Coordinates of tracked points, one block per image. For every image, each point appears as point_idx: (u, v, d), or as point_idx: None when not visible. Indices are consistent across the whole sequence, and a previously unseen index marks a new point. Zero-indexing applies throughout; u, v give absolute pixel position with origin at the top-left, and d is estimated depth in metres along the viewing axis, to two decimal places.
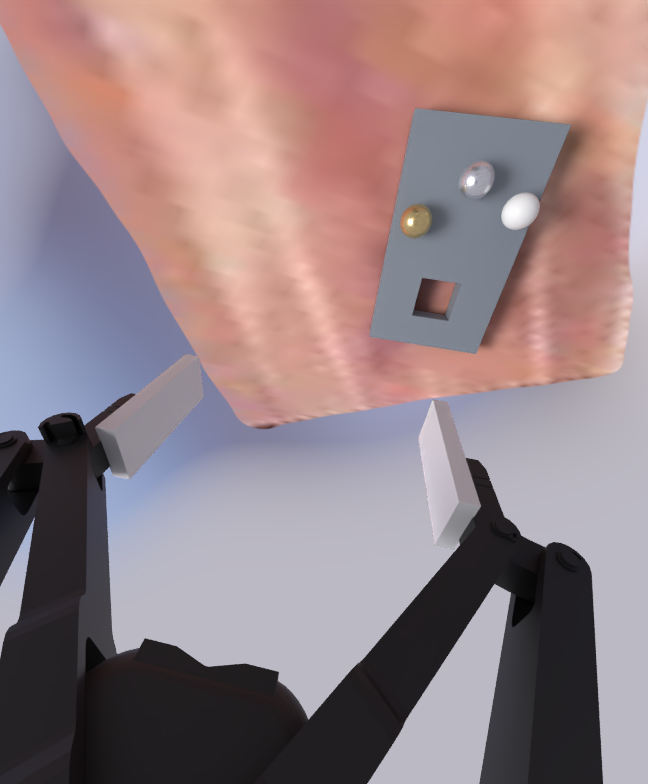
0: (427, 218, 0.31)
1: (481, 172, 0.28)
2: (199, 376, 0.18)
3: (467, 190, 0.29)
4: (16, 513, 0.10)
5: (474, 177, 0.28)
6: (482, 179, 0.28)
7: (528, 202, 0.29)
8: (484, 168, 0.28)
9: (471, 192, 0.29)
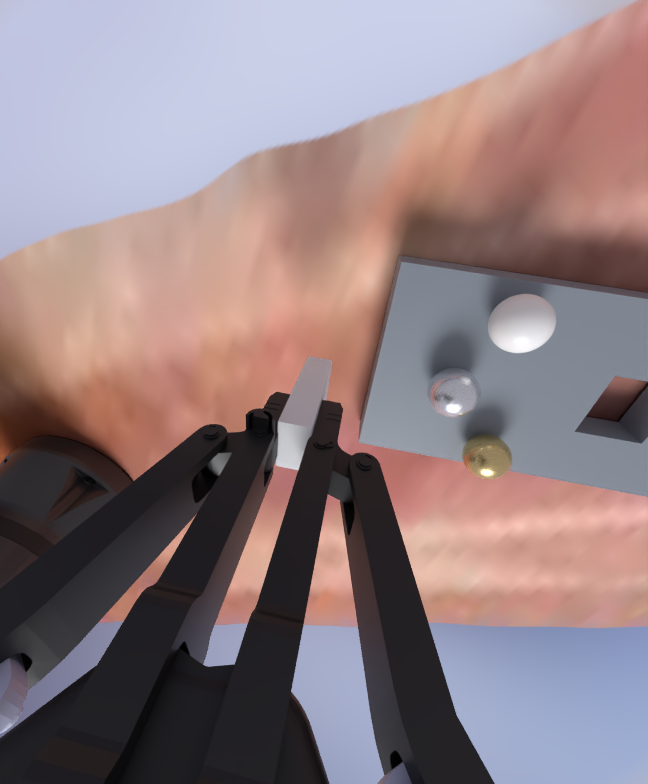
0: (490, 457, 0.21)
1: (447, 405, 0.19)
2: None
3: (466, 414, 0.19)
4: (191, 500, 0.11)
5: (452, 412, 0.19)
6: (458, 404, 0.19)
7: (514, 331, 0.16)
8: (442, 399, 0.19)
9: (471, 410, 0.19)
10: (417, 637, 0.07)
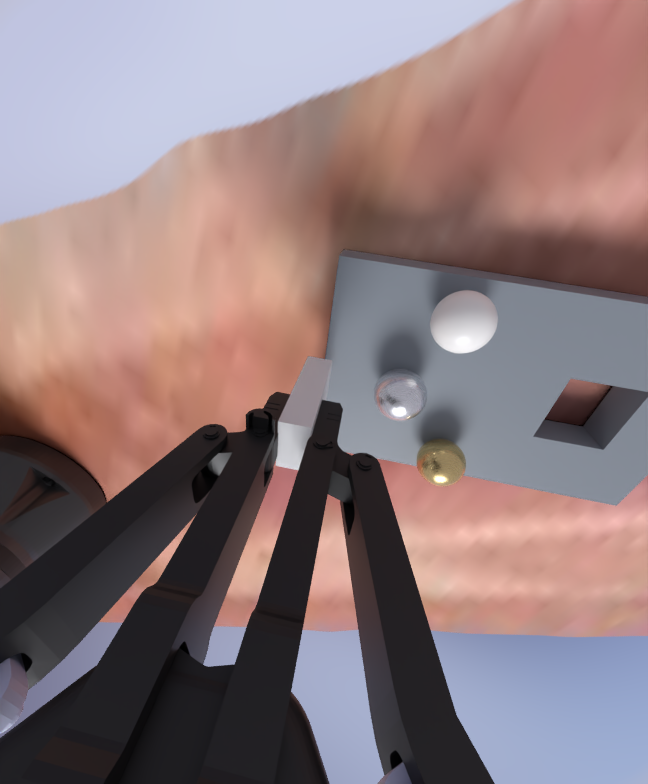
0: (441, 463, 0.20)
1: (390, 408, 0.18)
2: None
3: (412, 417, 0.18)
4: (191, 500, 0.11)
5: (396, 416, 0.18)
6: (401, 407, 0.17)
7: (452, 330, 0.15)
8: (385, 402, 0.18)
9: (416, 413, 0.18)
10: (417, 637, 0.07)
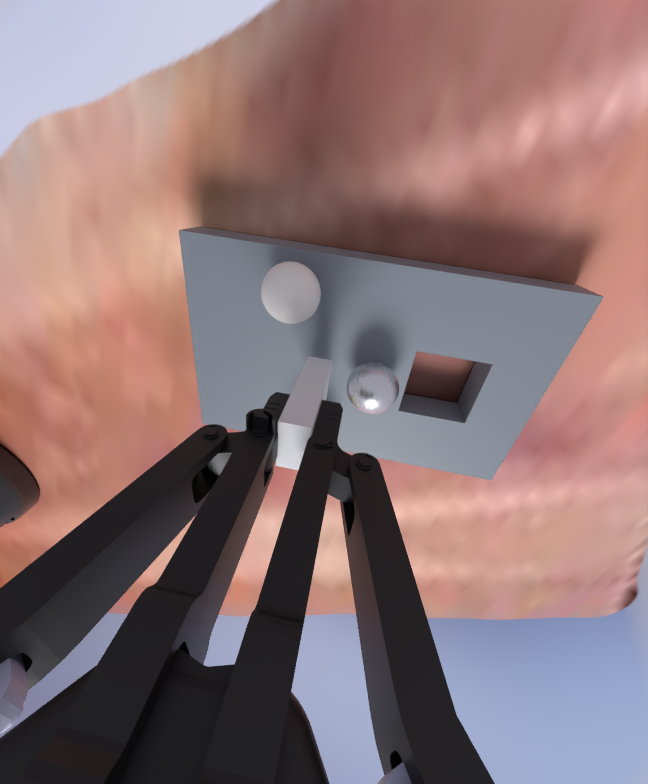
0: None
1: None
2: None
3: (350, 401, 0.19)
4: (191, 500, 0.11)
5: None
6: None
7: (269, 299, 0.16)
8: None
9: (349, 396, 0.19)
10: (417, 637, 0.07)
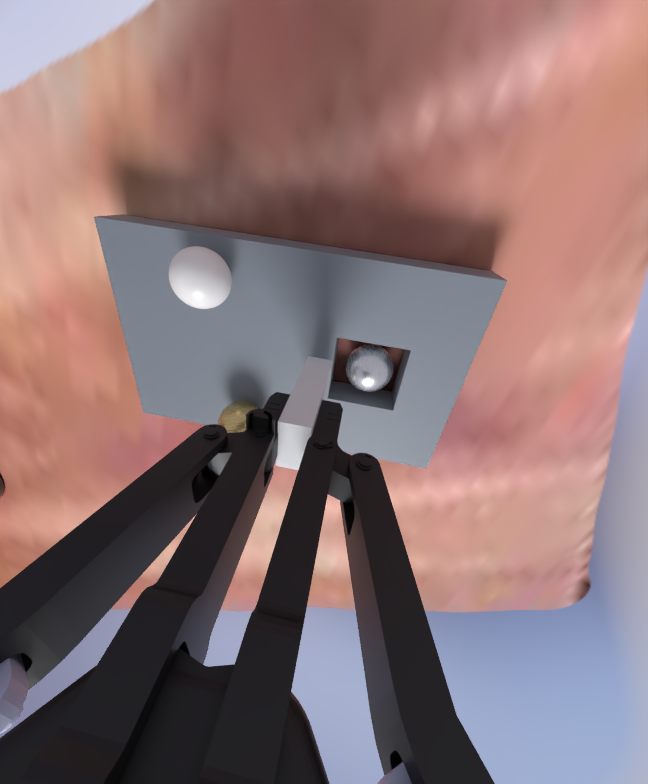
0: (227, 422, 0.21)
1: (392, 374, 0.21)
2: None
3: None
4: (191, 500, 0.11)
5: None
6: None
7: (173, 283, 0.16)
8: (391, 374, 0.20)
9: None
10: (417, 637, 0.07)
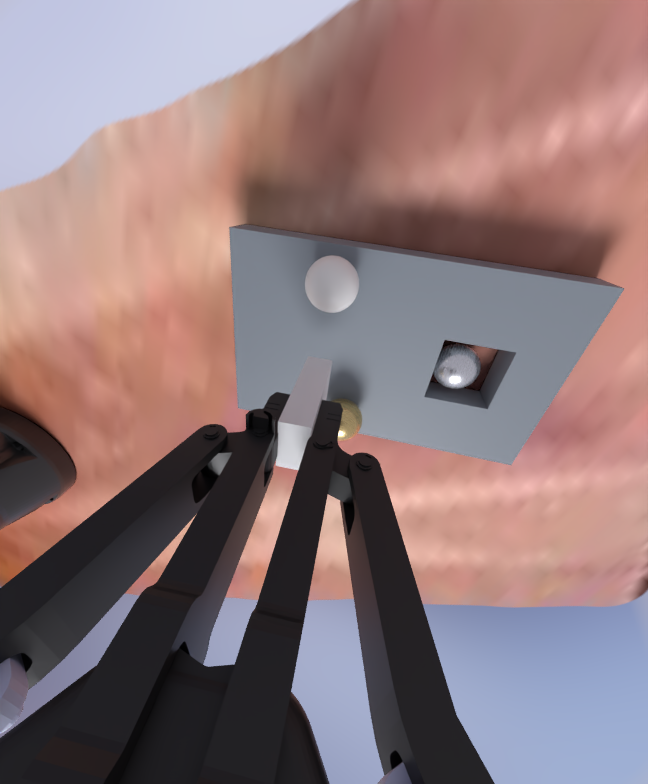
0: None
1: (476, 377, 0.21)
2: None
3: None
4: (191, 500, 0.11)
5: (474, 380, 0.22)
6: (479, 371, 0.22)
7: (314, 289, 0.17)
8: (474, 375, 0.21)
9: None
10: (417, 637, 0.07)
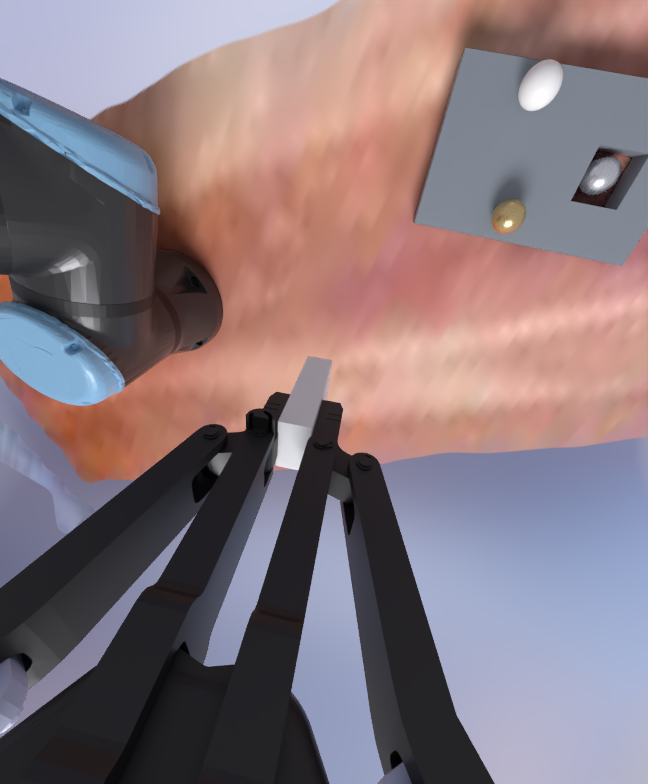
0: (512, 205, 0.31)
1: (617, 179, 0.30)
2: None
3: None
4: (191, 500, 0.11)
5: (612, 185, 0.31)
6: None
7: (536, 80, 0.26)
8: (618, 176, 0.30)
9: None
10: (417, 637, 0.07)
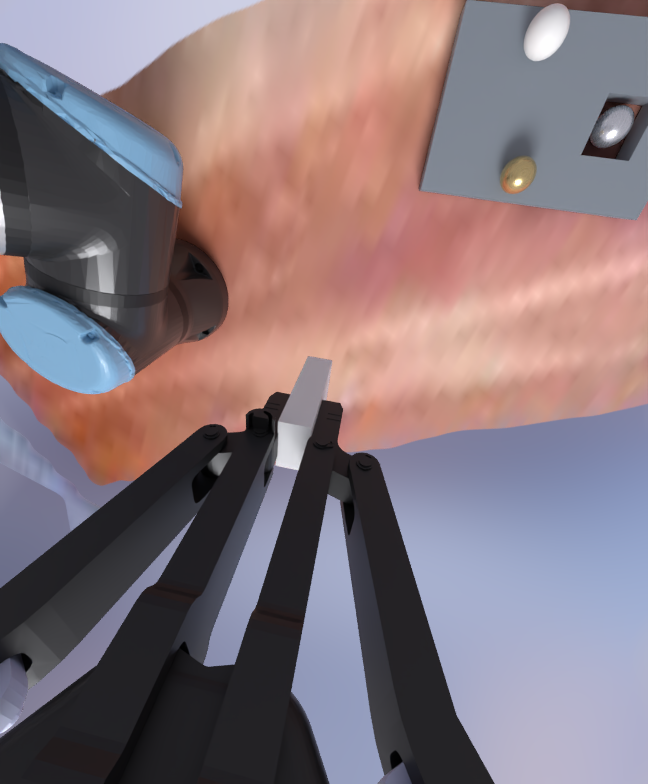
0: (521, 162, 0.30)
1: (630, 129, 0.30)
2: None
3: None
4: (191, 500, 0.11)
5: None
6: None
7: (543, 26, 0.25)
8: (631, 125, 0.29)
9: None
10: (417, 637, 0.07)
